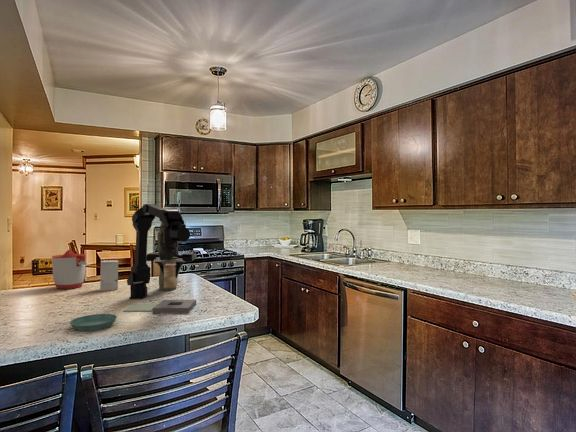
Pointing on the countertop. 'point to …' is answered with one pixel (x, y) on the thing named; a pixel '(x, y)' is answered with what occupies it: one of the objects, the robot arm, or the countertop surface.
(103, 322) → the saucer
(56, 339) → the countertop surface
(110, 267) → the skincare box
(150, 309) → the rubber mat
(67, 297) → the countertop surface
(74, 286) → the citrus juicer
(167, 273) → the wooden plug
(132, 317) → the countertop surface
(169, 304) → the grey flat square slab
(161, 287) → the thermos
